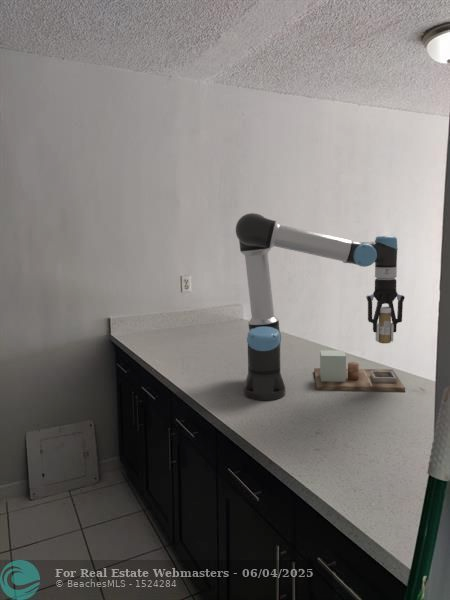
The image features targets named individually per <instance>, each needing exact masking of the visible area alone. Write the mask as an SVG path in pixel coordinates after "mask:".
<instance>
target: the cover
mask: <svg viewBox="0 0 450 600" xmlns="http://www.w3.org/2000/svg"><path fill="white" fill-rule="evenodd" d="M319 368H320V377H321V381H330V382H346V369H347V355H346V352H345V350H331V349H330V350H329V349H328V350H321V349H320V350H319Z"/></svg>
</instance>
